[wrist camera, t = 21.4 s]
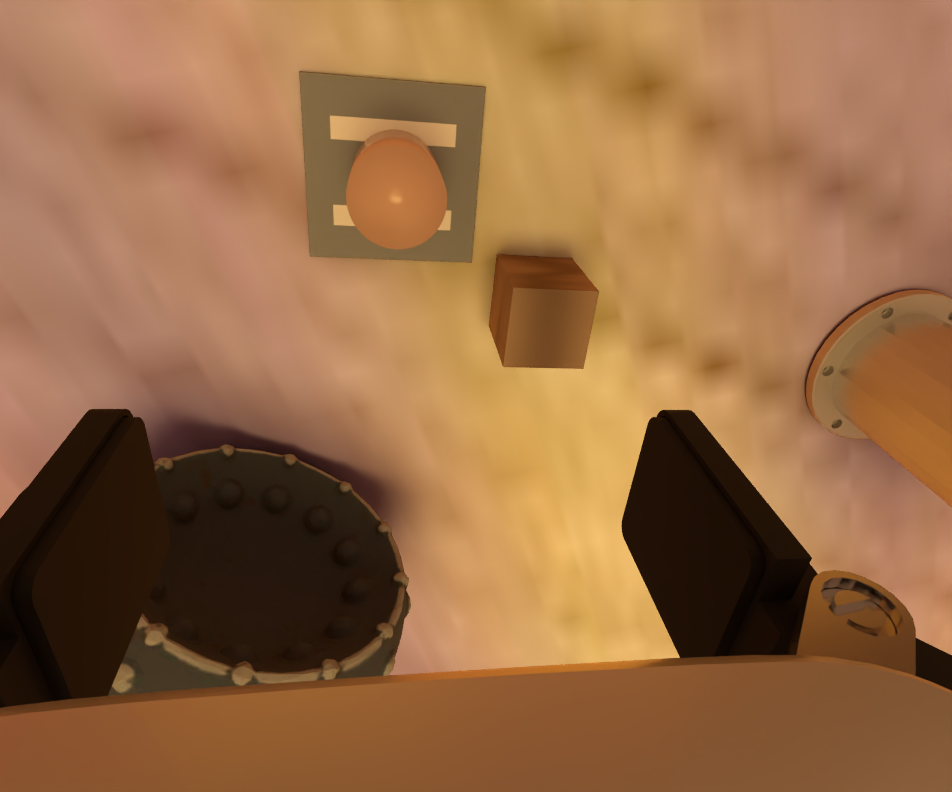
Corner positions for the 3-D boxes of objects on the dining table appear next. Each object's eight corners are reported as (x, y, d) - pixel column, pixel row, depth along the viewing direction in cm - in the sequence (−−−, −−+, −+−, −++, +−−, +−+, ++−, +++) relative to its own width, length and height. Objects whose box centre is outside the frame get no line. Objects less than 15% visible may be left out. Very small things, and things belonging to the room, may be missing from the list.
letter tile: (484, 87, 34) (485, 87, 33) (471, 261, 39) (471, 262, 39) (299, 71, 32) (299, 72, 32) (310, 255, 37) (310, 256, 37)
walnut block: (571, 258, 40) (599, 291, 35) (559, 327, 42) (583, 368, 37) (496, 254, 39) (513, 287, 34) (488, 325, 41) (503, 367, 36)
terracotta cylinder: (440, 132, 34) (450, 150, 29) (436, 221, 37) (444, 251, 32) (350, 126, 34) (344, 142, 29) (352, 216, 36) (347, 247, 31)
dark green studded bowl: (149, 394, 41) (-19, 654, 24) (419, 483, 48) (438, 734, 31) (113, 508, 45) (-51, 796, 28) (365, 574, 52) (355, 839, 35)
